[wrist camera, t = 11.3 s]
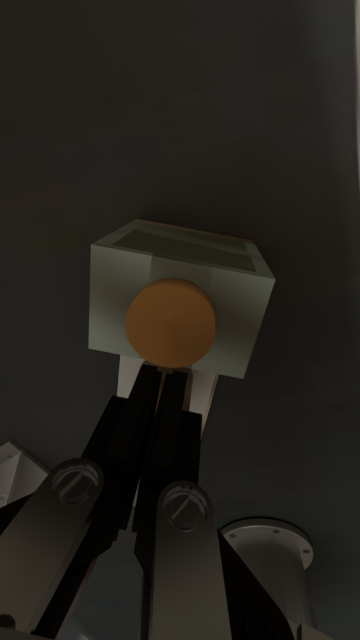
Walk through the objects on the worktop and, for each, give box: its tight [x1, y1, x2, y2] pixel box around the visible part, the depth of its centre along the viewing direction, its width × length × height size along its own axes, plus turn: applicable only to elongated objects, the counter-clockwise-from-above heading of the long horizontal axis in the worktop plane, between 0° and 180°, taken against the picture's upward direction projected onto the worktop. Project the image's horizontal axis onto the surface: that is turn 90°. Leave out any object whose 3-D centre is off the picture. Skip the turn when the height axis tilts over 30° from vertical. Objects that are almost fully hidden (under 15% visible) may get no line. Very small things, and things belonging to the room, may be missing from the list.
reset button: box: [125, 278, 215, 368], centre depth 16 cm, size 4×4×3 cm
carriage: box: [117, 355, 216, 415], centre depth 21 cm, size 6×7×10 cm
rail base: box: [89, 219, 276, 506], centre depth 24 cm, size 26×9×10 cm, turn 171°
